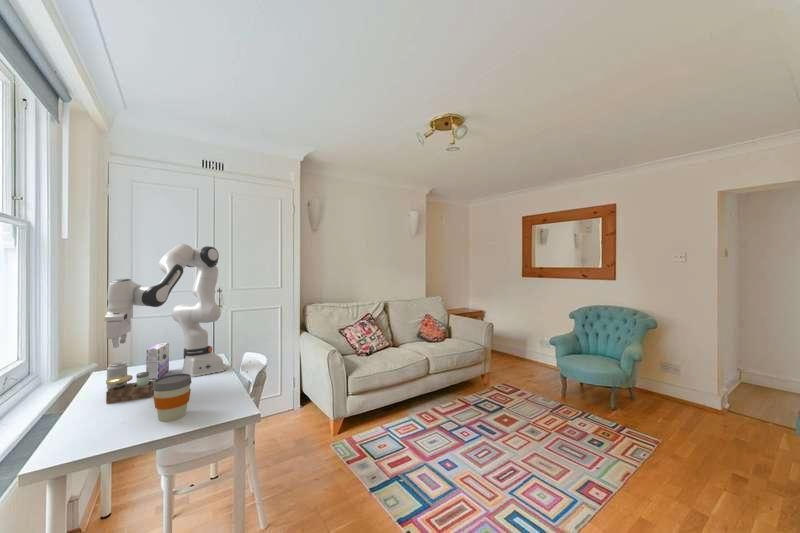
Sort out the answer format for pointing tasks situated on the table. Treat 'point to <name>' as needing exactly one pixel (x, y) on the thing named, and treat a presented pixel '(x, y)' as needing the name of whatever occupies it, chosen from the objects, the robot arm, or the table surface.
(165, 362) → the candy box
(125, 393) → the housing
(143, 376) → the cartridge
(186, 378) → the reusable coffee cup
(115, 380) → the gold rounded dome
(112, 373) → the can
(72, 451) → the table surface
